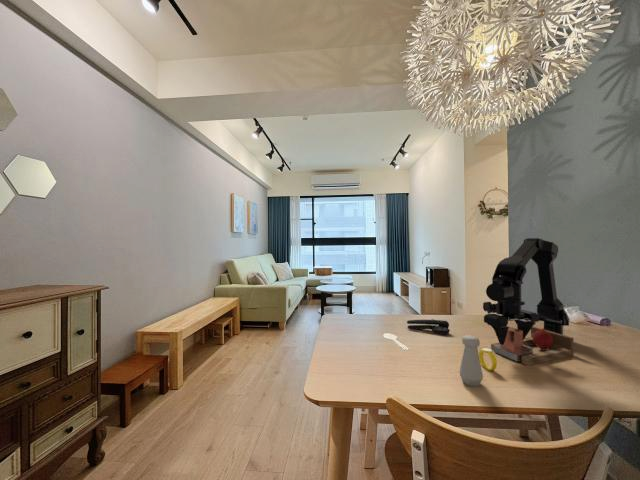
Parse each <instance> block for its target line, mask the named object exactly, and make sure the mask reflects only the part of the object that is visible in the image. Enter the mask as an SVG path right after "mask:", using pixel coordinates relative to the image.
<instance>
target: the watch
mask: <svg viewBox="0 0 640 480" xmlns="http://www.w3.org/2000/svg"><path fill="white" fill-rule="evenodd" d="M478 354H479V359H480V364H481V368H482V367H483V368H484V369H486V370H488V371H490V372H491V371H494V370H496V369H497V366H498V364H497V363H498V362H497V358H496V356H495V354H494V350H492V349H491V348H488V347H483V348H482V349H481V350H480V351H478ZM484 354H488V355H489V357H490V359H491V364H492V366H491V367H490V366H488V365H487V364H486V362H485V359H484Z"/></svg>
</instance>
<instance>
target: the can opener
mask: <svg viewBox="0 0 640 480" xmlns="http://www.w3.org/2000/svg"><path fill="white" fill-rule="evenodd" d="M406 324H409V325H407V328H408V329H410V330H417V331H418V330H431V332H432V333H433V335H439V336H443V335H444V336H445V335H448V334H449V333H450V331H451V330H450V329H449V327H450V324H449V322H448V321H447V320H441V319H434V318H431V319H413V320H412V319H410V320H407V321H406Z"/></svg>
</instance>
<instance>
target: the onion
mask: <svg viewBox="0 0 640 480" xmlns="http://www.w3.org/2000/svg"><path fill="white" fill-rule="evenodd" d="M533 342H534V343H535V346H537V347H538V349H540V350H541V351H546V350H549V348H550V347H551V346H552V345H553V338H552V336H551V335H550V334H549V333H548V332H547V331H545V330H544V327H541V329H540V330H539V331H537V332H535V333H534V334H533Z"/></svg>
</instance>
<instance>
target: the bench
mask: <svg viewBox="0 0 640 480" xmlns="http://www.w3.org/2000/svg"><path fill="white" fill-rule="evenodd" d="M541 328H542V327H541ZM541 328H540V327H538V326H534V325H533V327H532V328H531V330H530V337H525V339H524V340H523V345H526V346H529V347H530V346H534V345H535V346H536V344H535V343H534V342H533V334H534V333H535V332H537V331H539V330H540V329H541ZM545 331H547V332H548V333H549V334H550V335H551V336H552V338H553V345H552V346H551V347H550V348H548V350H544V351H541V352H535V353H533V354H529V355H524V356H521V359H522V361H521V363H522V362H523V363H522V364H525V365H527V366H529V365H533V364H538V363H544V362H548V361H552V360H556V359H558V360H559V359H561V358H562V359H563V358H567V357H572V356H574V353H575V352H574V351H575V350H574V337H572V336H568V335H565V334H563V335H562V334H558V333H555V332H551V331H548V330H545ZM496 345H500V343H499V342H495V343H491V344H490V349H491V350H492V351H494V346H496ZM549 349H550V350H549Z"/></svg>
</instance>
